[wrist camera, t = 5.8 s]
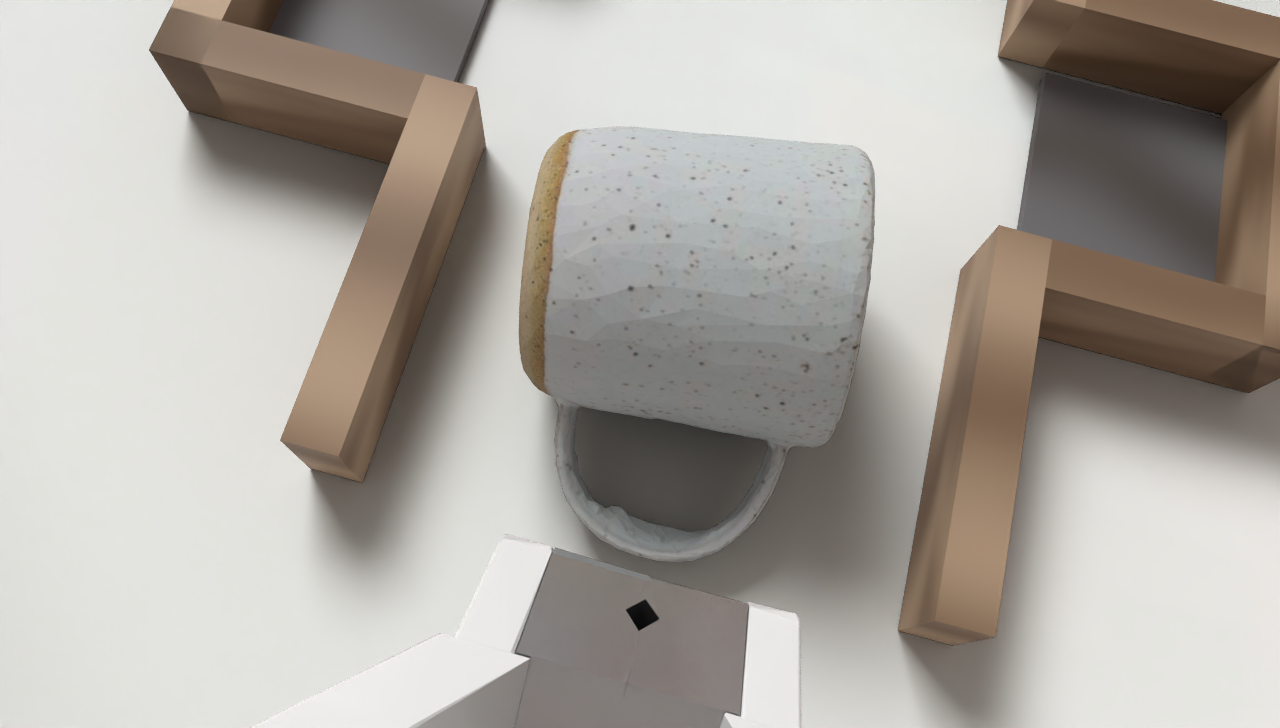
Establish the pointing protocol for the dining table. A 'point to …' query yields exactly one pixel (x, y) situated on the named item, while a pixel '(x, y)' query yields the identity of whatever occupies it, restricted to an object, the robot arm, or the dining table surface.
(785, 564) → the dining table surface
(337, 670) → the dining table surface
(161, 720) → the dining table surface
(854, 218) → the ceramic mug
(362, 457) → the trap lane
